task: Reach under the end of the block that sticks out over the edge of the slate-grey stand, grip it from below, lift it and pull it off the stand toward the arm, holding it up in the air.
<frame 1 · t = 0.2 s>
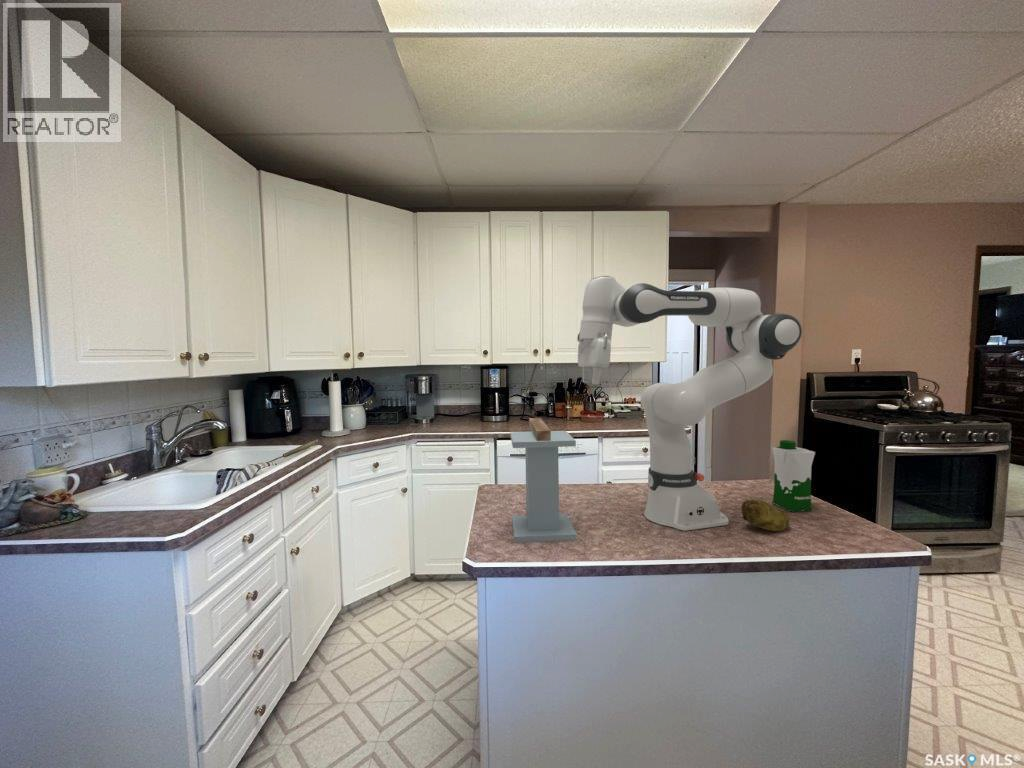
hand: (590, 383, 113), 40 cm above the countertop, tool pointing down, fingers open, 8 cm apart
stand: (542, 529, 110), on the countertop
block: (538, 432, 113), point 26 cm above the countertop, touching stand
milk carton: (791, 508, 123), on the countertop
potato: (766, 529, 108), on the countertop
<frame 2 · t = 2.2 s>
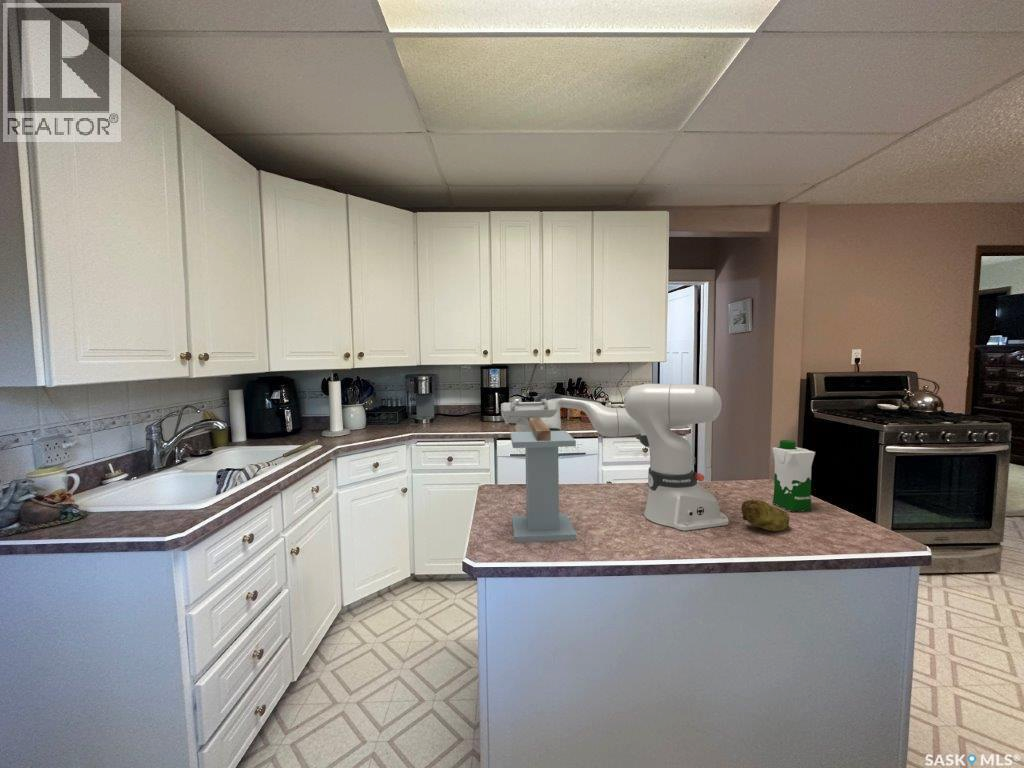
hand: (530, 401, 138), 32 cm above the countertop, tool pointing upward, fingers open, 8 cm apart
nothing on the countertop moved.
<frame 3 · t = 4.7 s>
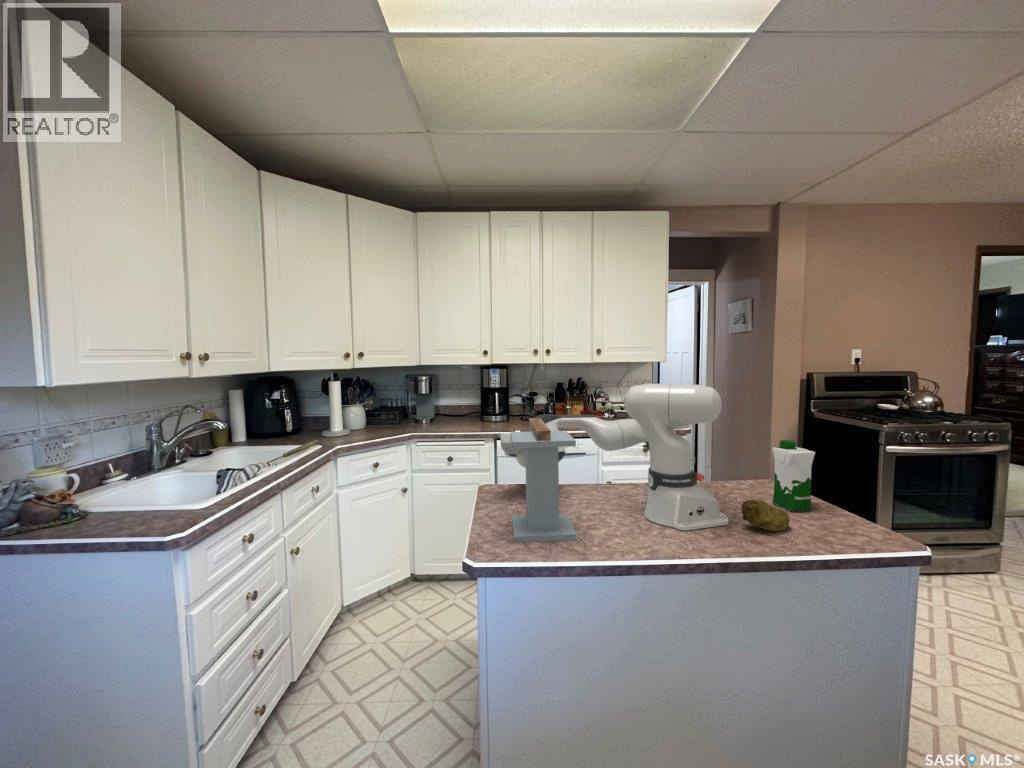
hand: (532, 432, 127), 24 cm above the countertop, tool pointing upward, fingers open, 8 cm apart
nothing on the countertop moved.
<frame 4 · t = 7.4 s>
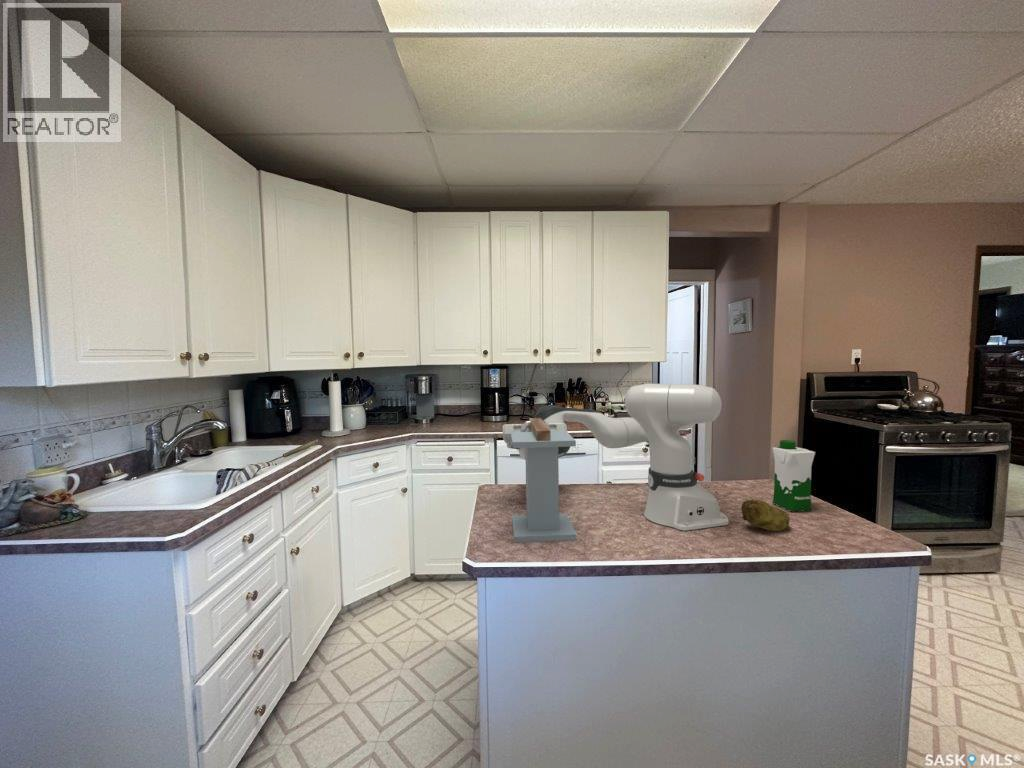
hand: (536, 423, 119), 28 cm above the countertop, tool pointing upward, fingers closed on block, 3 cm apart
block: (538, 432, 113), point 26 cm above the countertop, touching gripper
everything else where it was.
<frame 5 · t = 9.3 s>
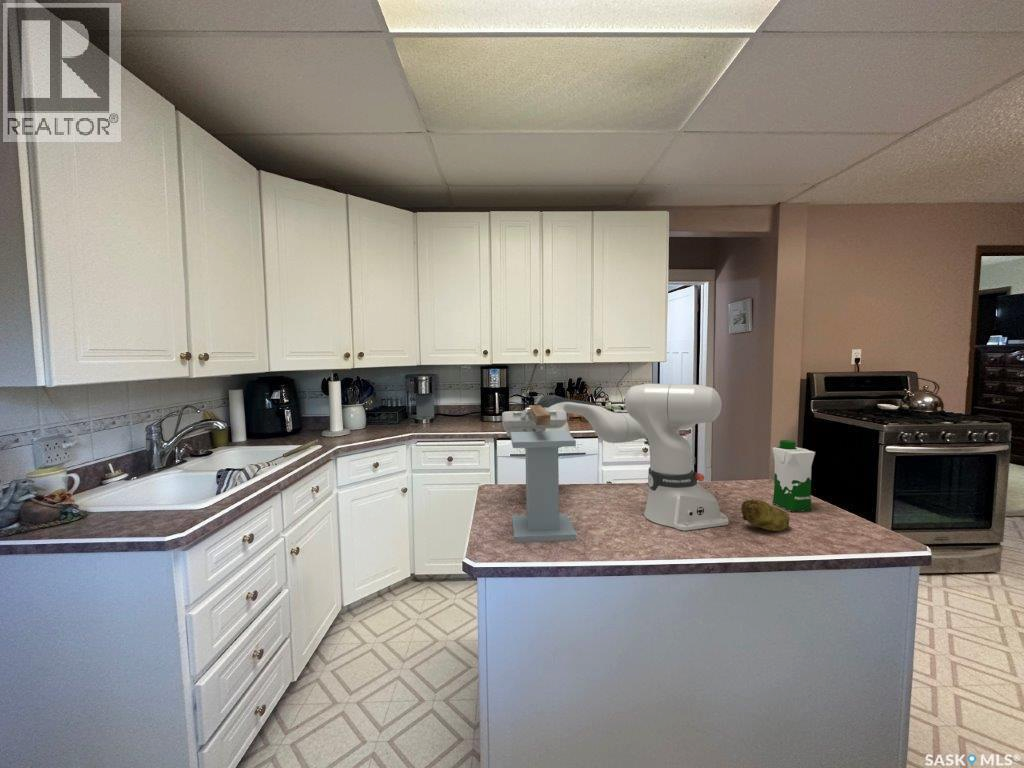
hand: (536, 410, 119), 32 cm above the countertop, tool pointing upward, fingers closed on block, 3 cm apart
block: (538, 418, 113), point 30 cm above the countertop, touching gripper
everything else where it was.
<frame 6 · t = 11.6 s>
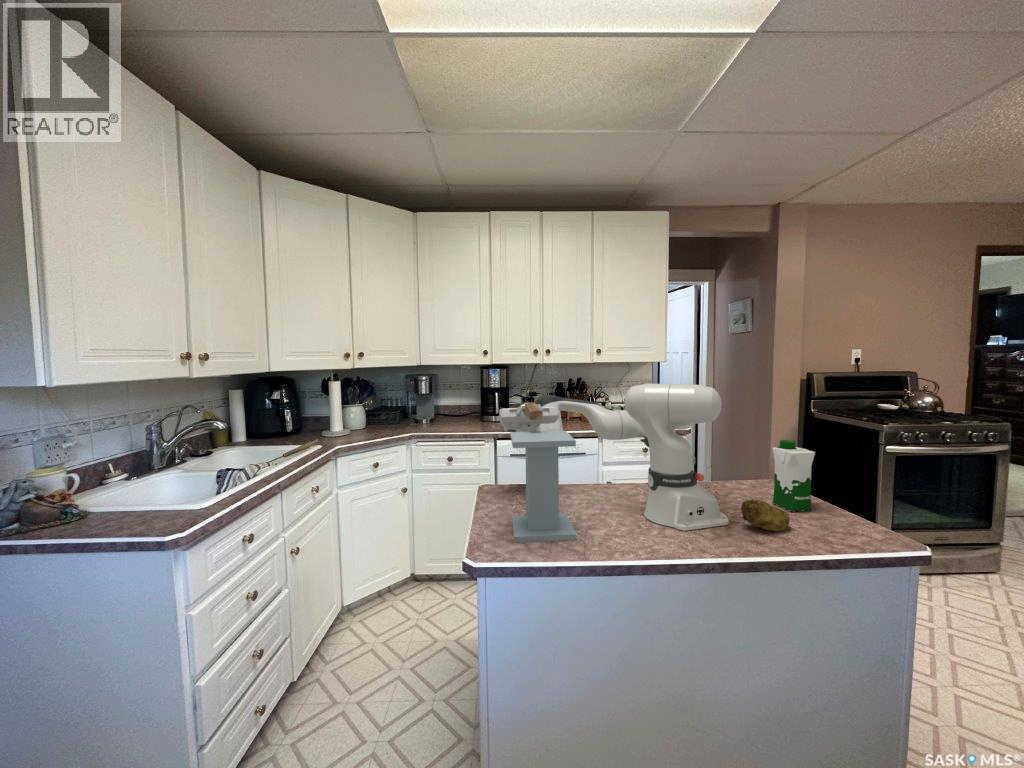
hand: (530, 406, 130), 31 cm above the countertop, tool pointing upward, fingers closed on block, 3 cm apart
block: (532, 414, 124), point 30 cm above the countertop, touching gripper
everything else where it was.
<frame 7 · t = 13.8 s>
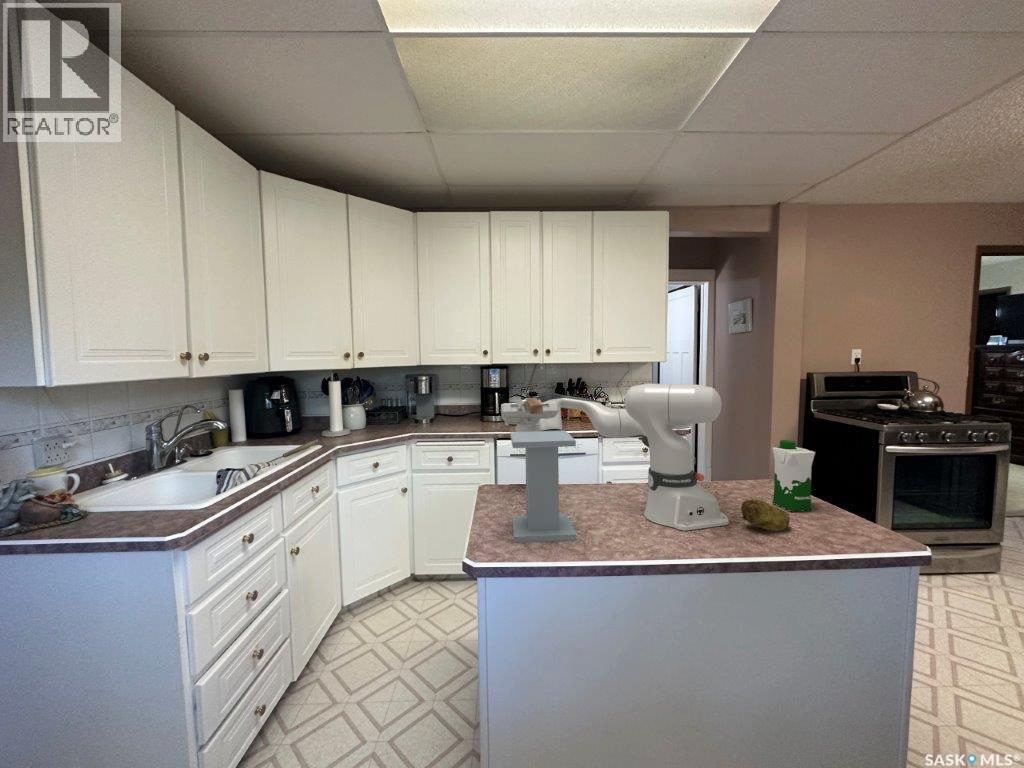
hand: (531, 401, 135), 32 cm above the countertop, tool pointing upward, fingers closed on block, 3 cm apart
block: (533, 409, 129), point 31 cm above the countertop, touching gripper
everything else where it was.
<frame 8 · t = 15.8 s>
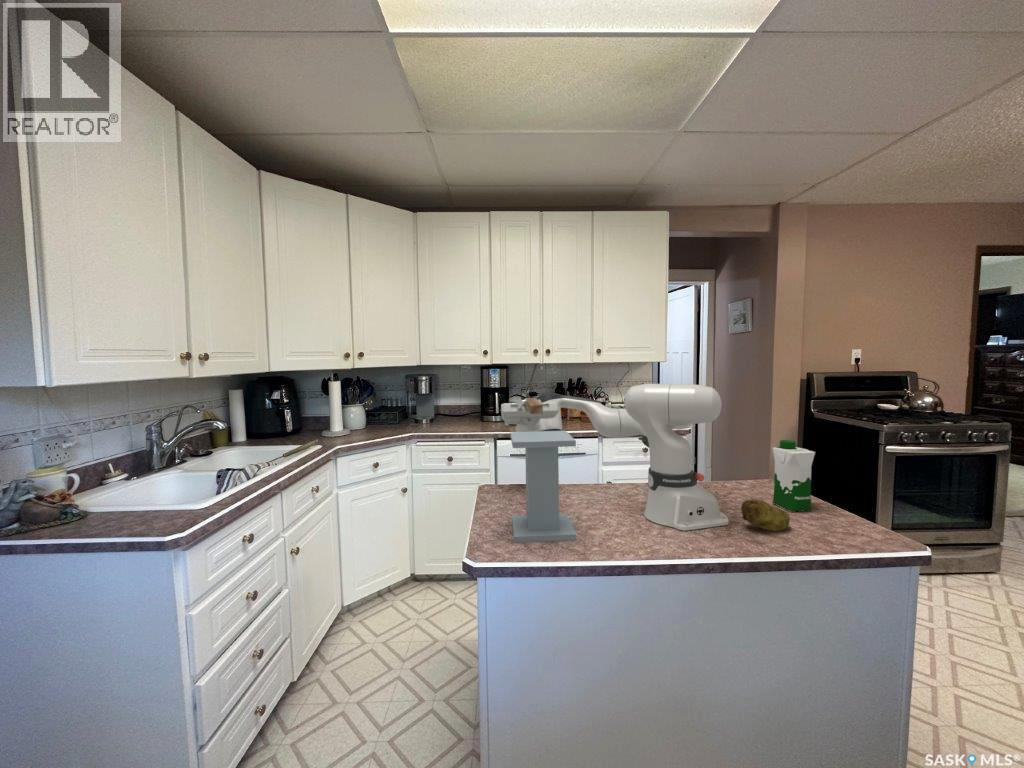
hand: (531, 401, 135), 32 cm above the countertop, tool pointing upward, fingers closed on block, 3 cm apart
block: (533, 409, 129), point 31 cm above the countertop, touching gripper
everything else where it was.
at the end: the gripper is holding block; block touching gripper; block inside the target area (0.5 cm from its centre), point 30.7 cm above the countertop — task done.
